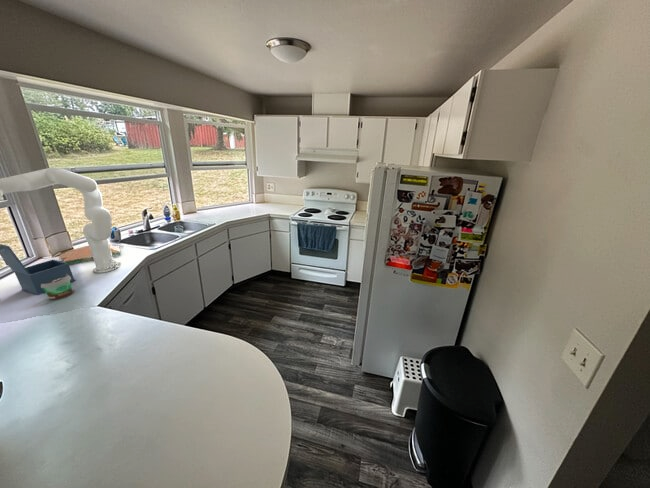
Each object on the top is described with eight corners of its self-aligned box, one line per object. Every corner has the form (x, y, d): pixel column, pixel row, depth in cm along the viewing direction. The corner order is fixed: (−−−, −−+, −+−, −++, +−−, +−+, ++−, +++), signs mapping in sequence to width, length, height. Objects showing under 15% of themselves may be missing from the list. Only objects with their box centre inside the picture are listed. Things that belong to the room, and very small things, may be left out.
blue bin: (59, 276, 155) (52, 259, 151) (74, 280, 151) (68, 263, 147) (22, 289, 141) (13, 270, 137) (38, 294, 136) (29, 275, 132)
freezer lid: (-8, 242, 128) (-22, 246, 124) (8, 246, 124) (-6, 251, 120) (14, 269, 137) (1, 275, 132) (30, 274, 132) (17, 279, 128)
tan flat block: (63, 256, 184) (59, 245, 181) (119, 246, 204) (117, 237, 201) (59, 266, 168) (55, 255, 165) (121, 255, 188) (118, 245, 185)
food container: (55, 302, 130) (48, 285, 126) (46, 301, 131) (39, 284, 128) (81, 290, 141) (76, 274, 138) (73, 289, 142) (67, 273, 139)
